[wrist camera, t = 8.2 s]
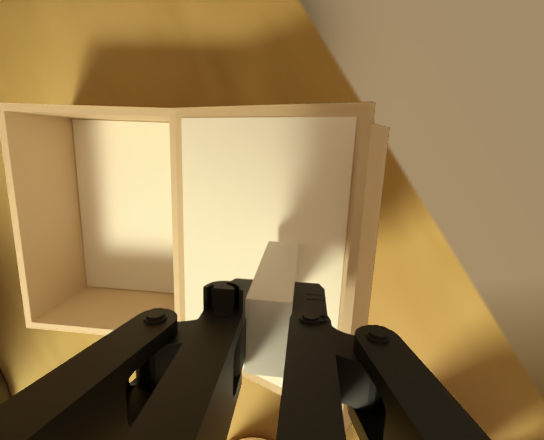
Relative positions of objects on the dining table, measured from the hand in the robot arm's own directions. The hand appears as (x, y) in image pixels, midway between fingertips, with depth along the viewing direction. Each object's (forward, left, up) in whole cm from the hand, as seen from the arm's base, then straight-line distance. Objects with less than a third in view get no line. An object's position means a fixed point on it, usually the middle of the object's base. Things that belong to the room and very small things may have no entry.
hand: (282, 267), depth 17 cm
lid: (-2, 0, 0) cm, 3 cm away
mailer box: (-13, 0, -12) cm, 18 cm away
